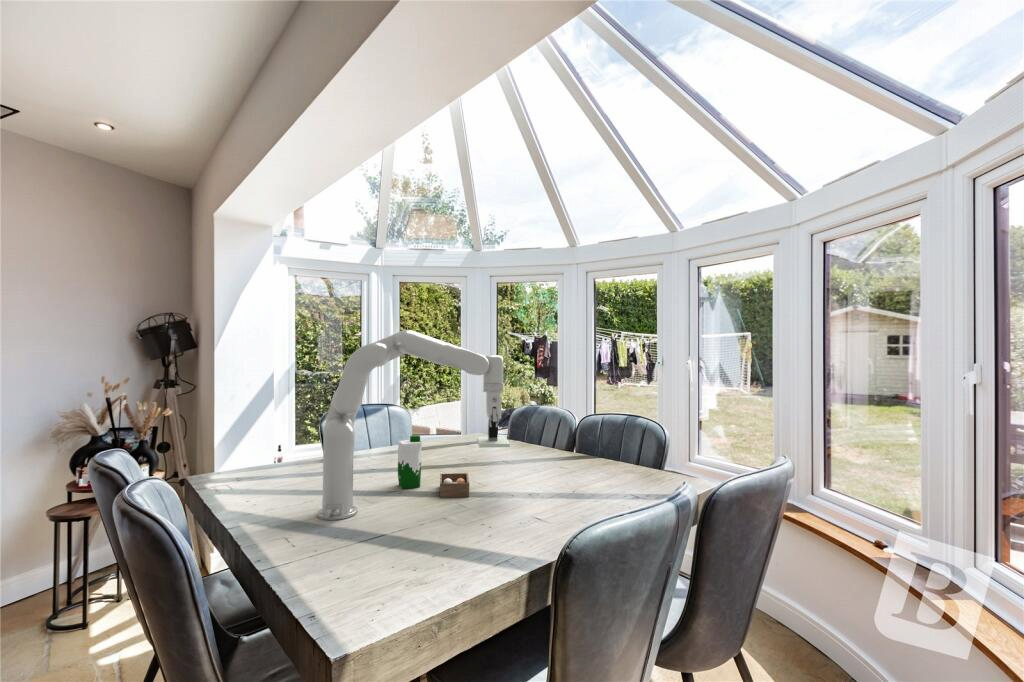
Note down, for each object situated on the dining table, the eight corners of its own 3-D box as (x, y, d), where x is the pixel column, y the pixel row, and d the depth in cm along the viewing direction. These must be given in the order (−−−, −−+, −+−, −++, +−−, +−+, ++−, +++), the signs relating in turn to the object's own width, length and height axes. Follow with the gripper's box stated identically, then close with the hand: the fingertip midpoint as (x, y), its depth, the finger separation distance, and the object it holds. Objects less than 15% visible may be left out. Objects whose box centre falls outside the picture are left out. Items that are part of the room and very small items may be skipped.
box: (469, 496, 177) (469, 483, 177) (439, 497, 176) (439, 484, 176) (467, 485, 192) (467, 473, 192) (440, 486, 191) (440, 473, 191)
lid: (509, 447, 171) (510, 424, 171) (479, 447, 169) (479, 424, 169) (504, 439, 186) (505, 418, 186) (476, 439, 184) (477, 418, 184)
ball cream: (452, 488, 185) (452, 479, 185) (443, 489, 185) (443, 479, 185) (452, 486, 189) (452, 477, 189) (443, 486, 188) (443, 477, 188)
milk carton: (422, 487, 188) (423, 437, 189) (400, 490, 185) (400, 439, 185) (417, 482, 196) (418, 434, 197) (395, 484, 192) (396, 435, 193)
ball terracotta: (465, 488, 186) (465, 479, 186) (455, 488, 185) (456, 479, 185) (464, 485, 189) (464, 476, 189) (455, 486, 189) (455, 477, 189)
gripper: (505, 389, 170) (505, 440, 170) (500, 386, 187) (500, 432, 186) (485, 389, 169) (484, 440, 169) (481, 386, 186) (481, 433, 185)
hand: (492, 436), depth 178 cm, fingers closed on lid, 3 cm apart
